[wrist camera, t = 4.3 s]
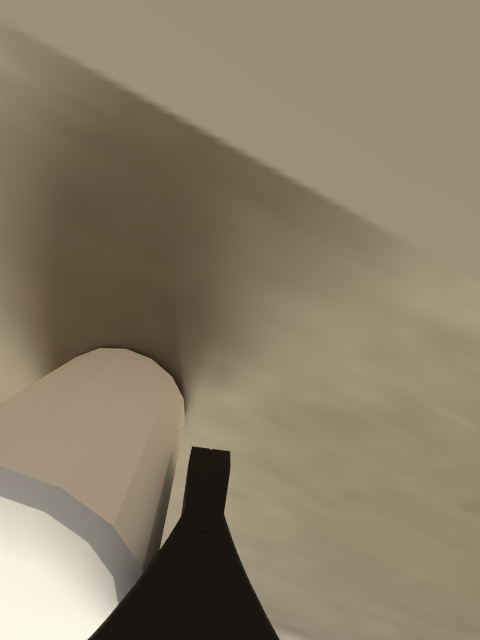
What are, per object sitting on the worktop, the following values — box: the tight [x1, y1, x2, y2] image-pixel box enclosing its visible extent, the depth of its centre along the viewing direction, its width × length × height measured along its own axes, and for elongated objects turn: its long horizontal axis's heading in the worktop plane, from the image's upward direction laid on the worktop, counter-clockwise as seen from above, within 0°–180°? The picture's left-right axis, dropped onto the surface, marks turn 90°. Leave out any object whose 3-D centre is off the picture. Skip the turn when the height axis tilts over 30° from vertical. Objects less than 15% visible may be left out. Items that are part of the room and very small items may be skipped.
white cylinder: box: [0, 348, 185, 640], centre depth 11 cm, size 7×7×7 cm
